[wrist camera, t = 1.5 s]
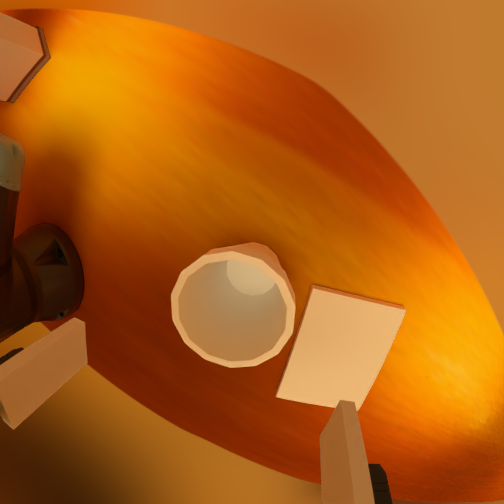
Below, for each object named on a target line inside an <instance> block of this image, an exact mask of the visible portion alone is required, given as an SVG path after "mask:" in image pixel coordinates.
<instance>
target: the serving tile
mask: <svg viewBox="0 0 504 504" xmlns="http://www.w3.org/2000/svg"><path fill="white" fill-rule="evenodd" d="M405 312H406V309H405V308H404V307H403V306H402V305H397V304H393V303H389V302H385V301H380V300H376V299H372V298H368V297H363V296H359V295H355V294H351V293H347V292H342V291H338V290H334V289H330V288H326V287H322V286H318V285H314V284H312V286H311V289H310V293H309V296H308V299H307V302H306V306H305V309H304V312H303V315H302V318H301V321H300V325H299V328H298V331H297V334H296V337H295V340H294V343H293V346H292V349H291V352H290V354H289V357H288V360H287V363H286V366H285V369H284V372H283V374H282V377H281V380H280V383H279V385H278V388H277V392H276V397H278V398H283V399H288V400H293V401H298V402H303V403H309V404H315V405H321V406H327V407H334V408H336V406H337V404H338V402H339V401H340V400H345V401H352V402H355V406H356V410H357V411H358V410H359V408H360V406H361V405H362V403H363V401H364V399H365V397H366V396H367V394H368V392H369V390H370V388H371V386H372V384H373V383H374V381H375V379H376V377H377V375H378V373H379V371H380V369H381V367H382V365H383V363H384V360H385V358H386V356H387V354H388V352H389V350H390V348H391V345H392V343H393V341H394V339H395V336H396V334H397V332H398V329H399V327H400V325H401V322H402V320H403V317H404V315H405Z"/></svg>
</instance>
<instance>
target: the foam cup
mask: <svg viewBox="0 0 504 504" xmlns="http://www.w3.org/2000/svg"><path fill="white" fill-rule="evenodd" d="M171 305H172V320H173V322H174V324H175V326H176V328H177V330H178V332H179V333H180V335H181V337H182V339H183V341H184V343H185V344H187V345H188V346H189V347H190V348H191V349H193V350H194V351H195V352H196V353H197V354H199V355H200V356H201V357H202V358H204V359H205V360H208V361H211V362H214V363H217V364H220V365H223V366H226V367H229V368H232V367H247V366H256V365H258V364H260V363H262V362H264V361H266V360H268V359H270V358H271V357H273V356H275V355H277V354H278V353H279V352H280V351H281V349H282V348H283V346H284V345H285V344H286V342H287V341H288V339H289V338H290V336H291V335H292V333H293V326H294V317H295V307H296V305H295V294H294V291H293V289H292V286H291V284H290V281H289V279H288V276H287V274H286V271H285V270H284V269H282V267H281V265H280V263H279V260H278V258H277V255H276V254H275V253H274V252H273V251H272V250H271V249H270V248H269V247H268V246H266V245H263V244H260V243H256V242H251V243H244V244H239V245H234V246H228V247H222V248H216V249H211V250H210V251H209V252H207V253H206V254H204V255H203V256H202V257H200V258H199V259H198V260H196V261H195V262H194V263H192V264H191V265H190V266H188V267H187V268H186V269H184V270H183V271H182V272H181V274H180V276H179V278H178V280H177V282H176V285H175V287H174V289H173V291H172V294H171Z"/></svg>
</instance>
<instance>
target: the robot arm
mask: <svg viewBox="0 0 504 504" xmlns="http://www.w3.org/2000/svg"><path fill="white" fill-rule="evenodd" d="M24 163H25V151H24V148H23V146H22V145H21V144H20V143H19V142H18V141H16V140H14V139H12V138H10V137H8V136H6V135H3V134H1V133H0V342H2V341H4V340H5V339H7V338H8V337H10V336H11V335H13V334H15V333H16V332H18V331H19V330H21V329H23V328H24V327H26V326H27V325H30V324H31V323H33V322H43V321H54V320H60V319H63V318H65V317H67V316H68V315H70V314H72V313H73V312H74V311H75V310H76V309H77V308H78V306H79V305H80V302H81V300H82V296H83V289H84V279H83V271H82V266H81V262H80V259H79V256H78V254H77V251H76V249H75V247H74V245H73V244H72V242H71V240H70V239H69V238H68V236H67V235H66V234H65V233H64V232H63V231H62V230H61V229H59V228H58V227H56V226H54V225H52V224H40V225H35V226H32V227H30V228H28V229H27V230H26V231H24V232H23V233H21V234H20V235H19V236H17V237H16V238H15V239H14V240H13V238H14V227H15V218H16V210H17V203H18V197H19V191H21V190H22V184H21V181H22V175H23V169H24ZM86 364H87V351H86V335H85V322H83V321H81V320H79V319H77V318H75V317H74V318H72V319H71V320H69V321H68V322H66V323H64V324H63V325H61V326H60V327H58V328H57V329H55V330H53V331H52V332H50V333H49V334H47V335H45V336H44V337H43V338H41V339H39V340H38V341H36V342H35V343H33V344H32V345H30V346H29V347H27V348H25V349H23V348H18V349H14V350H12V351H10V352H9V353H7V354H6V355H5V356H2V357H1V358H0V414H1V416H2V419H3V421H4V422H5V423H7V424H8V425H9V426H10V427H11V428H12V429H13V430H14V429H15V428H16V427H17V426H18V425H19V424H20V423H21V422H23V420H25V419H26V418H27V417H28V416H29V415H30V414H31V413H32V412H34V411H35V410H36V409H37V408H38V407H39V406H40V405H41V404H42V403H43V402H45V401H46V400H47V399H48V398H49V397H50V396H51V395H52V394H53V393H54V392H55V391H57V390H58V389H59V388H60V387H61V386H62V385H64V384H65V383H66V382H67V381H68V380H69V379H70V378H71V377H72V376H74V375H75V374H76V373H77V372H78V371H79V370H81V369H82V368H83V367H84V366H85V365H86ZM320 456H321V486H322V504H392V499H391V494H390V492H389V485H388V484H387V483H388V481H387V476H386V473H385V471H384V470H383V468H382V467H381V465H380V464H368V462H367V457H366V452H365V447H364V442H363V437H362V433H361V428H360V423H359V419H358V415H357V410H356V406H355V402H352V401H345V400H340V401H339V402H338V404H337V406H336V408H335V410H334V412H333V414H332V416H331V417H330V419H329V421H328V423H327V425H326V426H325V428H324V430H323V432H322V433H321V435H320Z"/></svg>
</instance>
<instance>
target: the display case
mask: <svg viewBox="0 0 504 504" xmlns="http://www.w3.org/2000/svg"><path fill="white" fill-rule="evenodd" d="M50 58H51V57H50V53H49V50H48V47H47V43H46V39H45V36H44V32H43V29H41V28H39V27H37V26H36V27H35V28H34V27H32V26H30V25H28V24H26V23H23V22H21V21H19V20H17V19H14V18H12V17H10V16H7V15H5V14H3V13H0V100H2V101H7V102H12V103H14V102H15V100H16V99H17V98H18V96H19V95H20V94H21V92H22V91H23V90H24V89H25V87H26V86H27V85H28V84H29V82H30V81H31V80H32V79H33V77H34V76H35V75H36V74H37V73H38V72H39V70H40V69H41V68H42V67H43V66H44V65H45V64H46V63H47V62H48V60H49V59H50Z"/></svg>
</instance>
